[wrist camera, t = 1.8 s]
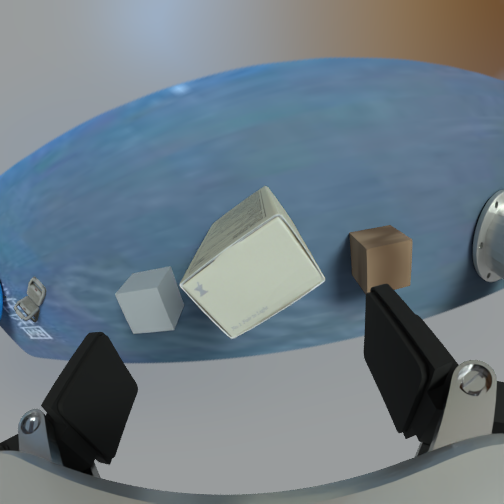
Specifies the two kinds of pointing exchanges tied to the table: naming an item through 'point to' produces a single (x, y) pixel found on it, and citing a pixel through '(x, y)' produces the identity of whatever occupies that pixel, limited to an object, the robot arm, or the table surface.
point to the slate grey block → (151, 301)
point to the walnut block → (381, 257)
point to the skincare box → (250, 266)
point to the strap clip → (31, 300)
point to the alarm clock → (1, 301)
